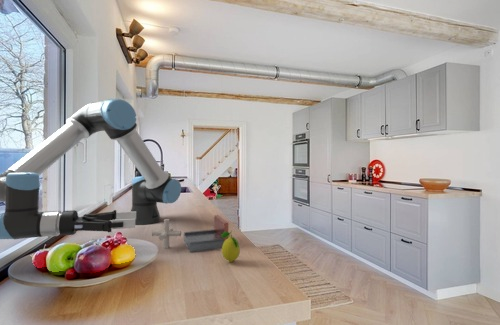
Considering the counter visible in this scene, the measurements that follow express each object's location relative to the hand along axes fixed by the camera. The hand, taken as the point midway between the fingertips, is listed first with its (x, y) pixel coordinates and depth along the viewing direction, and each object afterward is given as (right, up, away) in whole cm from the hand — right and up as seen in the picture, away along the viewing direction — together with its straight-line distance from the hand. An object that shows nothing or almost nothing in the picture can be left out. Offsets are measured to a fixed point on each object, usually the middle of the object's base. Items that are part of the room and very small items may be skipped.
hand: (135, 218), depth 89 cm
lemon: (+33, -12, -9) cm, 36 cm away
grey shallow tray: (+22, -11, +8) cm, 26 cm away
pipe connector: (+9, -11, +4) cm, 15 cm away
